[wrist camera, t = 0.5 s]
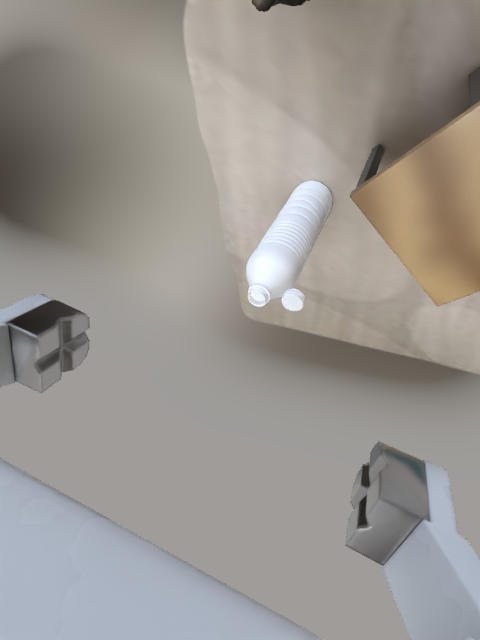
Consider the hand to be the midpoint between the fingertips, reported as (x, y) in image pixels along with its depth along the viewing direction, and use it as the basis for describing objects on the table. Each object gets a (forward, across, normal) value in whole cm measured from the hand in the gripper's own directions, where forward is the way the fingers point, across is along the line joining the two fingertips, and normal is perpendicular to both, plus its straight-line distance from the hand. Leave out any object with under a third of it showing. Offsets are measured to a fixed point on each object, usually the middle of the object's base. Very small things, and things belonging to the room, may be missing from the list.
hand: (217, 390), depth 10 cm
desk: (+51, -11, -4) cm, 52 cm away
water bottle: (+54, +5, +5) cm, 54 cm away
